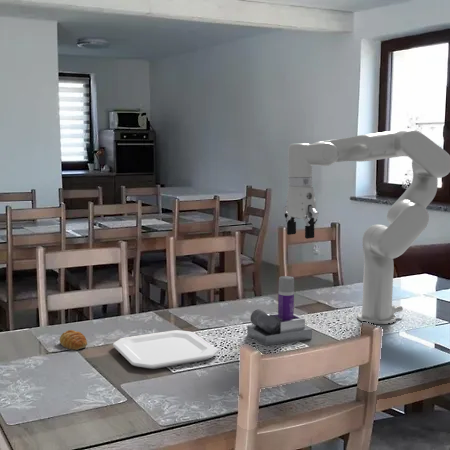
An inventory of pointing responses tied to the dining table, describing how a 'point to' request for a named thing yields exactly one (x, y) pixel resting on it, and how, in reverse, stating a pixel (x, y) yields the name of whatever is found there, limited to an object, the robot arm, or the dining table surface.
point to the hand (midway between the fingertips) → (300, 236)
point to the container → (286, 298)
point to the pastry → (73, 340)
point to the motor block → (277, 329)
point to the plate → (164, 349)
